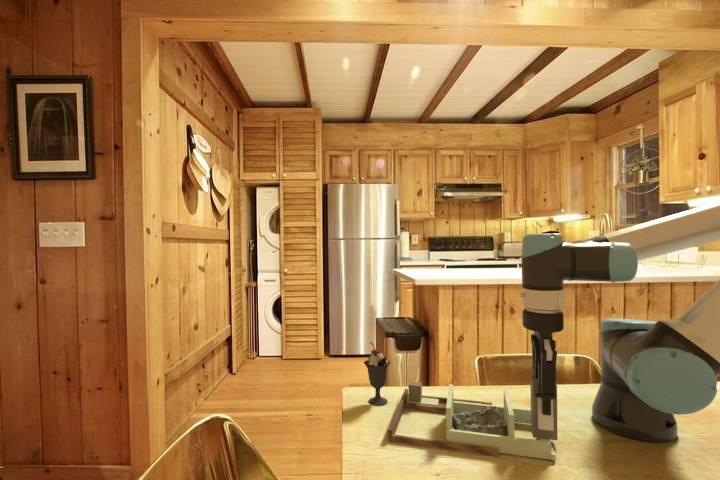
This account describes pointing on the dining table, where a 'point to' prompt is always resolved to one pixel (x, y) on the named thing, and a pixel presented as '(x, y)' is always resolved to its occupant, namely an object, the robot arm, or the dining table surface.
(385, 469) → the dining table surface
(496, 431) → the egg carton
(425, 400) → the broken strip
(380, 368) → the sundae
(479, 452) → the frame
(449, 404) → the sage green shelf unit
